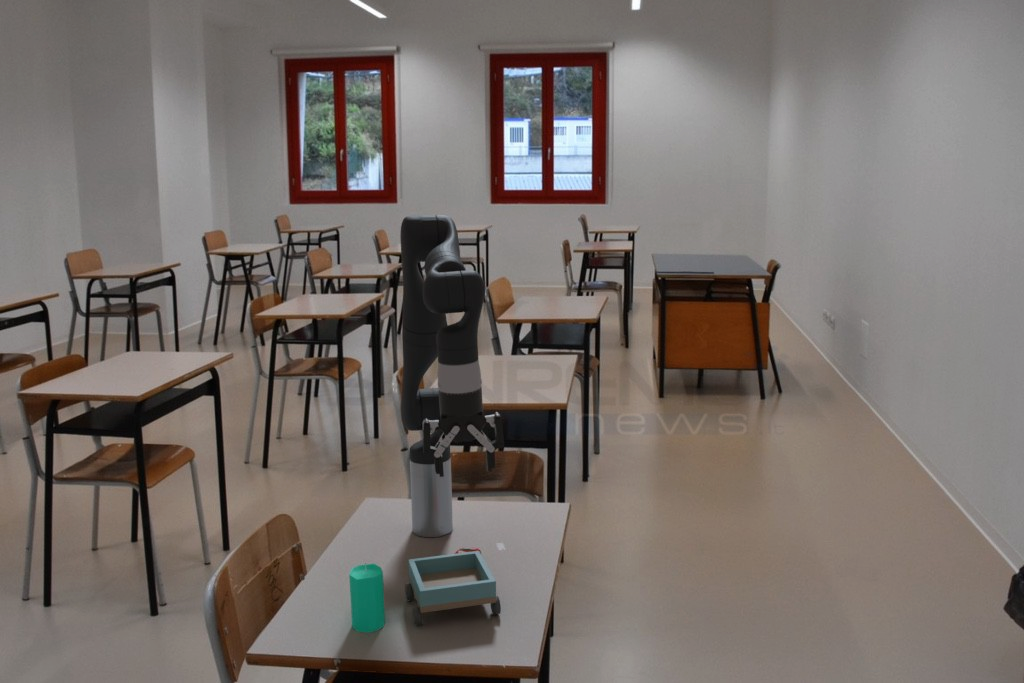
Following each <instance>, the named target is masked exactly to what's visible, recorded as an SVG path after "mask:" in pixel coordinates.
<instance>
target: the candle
mask: <svg viewBox="0 0 1024 683" xmlns="http://www.w3.org/2000/svg"><path fill="white" fill-rule="evenodd" d="M383 572H384V571H383V569H382V567H381V566H379V565H377V564H376V563H369V564H368V563H365V564H360V565H356V566H354V567H352V568H351V570H350V572H349V591H350V592H349V593H350V594H349V595H350V609H351V626H352V628H353V630H355V631H357V632H360V633H372V632H377V631H378V630H379V631H380V629H382V628H384V626H385V624H386V615H385V614H386V613H385V595H384V594H385V592H384V591H385V590H384V588H385V587H384V574H383Z"/></svg>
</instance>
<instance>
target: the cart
mask: <svg viewBox="0 0 1024 683" xmlns="http://www.w3.org/2000/svg"><path fill="white" fill-rule="evenodd" d="M407 560H408V580H409V583H405V584H404V585H405V586H404V588H405V599H406V601H407V602H410V601H414V600H416V602H417V605H418V606H416V607H413V608H412V610H413V611H412V613H413V614H412V615H413V622H414V626H421V625H423V622H424V621H423V620H424V619H423V613H424V614H425V613H431V612H436V611H443V610H444V611H445V610H452V609H460V608H467V607H473V606H474V607H475V606H481V605H488V604H490V609H491V613H492V615H500V614H501V611H502V610H501V609H502V608H501V601H500V597H499V595H497V580H496V578H495V577H494V576H493V573H492V571H491V570H490V568H489V566H488V564H487V563H486V561H485V559H484V558H483V555H482V553H481V554H480V552H479V551H473V552H465V553H457V554H455V553H451V554H443V555H436V556H435V555H433V556H425V557H418V558H417V557H416V558H411V559H410V558H409V559H407Z"/></svg>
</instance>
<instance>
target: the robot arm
mask: <svg viewBox="0 0 1024 683" xmlns="http://www.w3.org/2000/svg"><path fill="white" fill-rule="evenodd" d="M455 223H456V222H454V220H453V218H452V217H451V216H448V215H443V214H426V215H425V214H423V215H422V214H421V215H418V214H417V215H408V216H405V217H404V218H403V219H402V221H401V226H400V254H401V266H402V267H401V269H402V270H401V271H402V272H401V273H402V288H403V289H402V290H403V293H402V315H401V317H402V319H401V322H402V323H401V335H402V336H401V339H402V361H403V364H402V368H403V370H402V381H401V382H402V385H401V400H400V401H401V402H400V417H401V418H400V419H401V422H402V425H403V427H404V429H406V430H407V431H411V432H413V431H414V432H416V431H422V439H421V440H418V441H417V442H414V443H413V444H411V446H410V447H409V452H408V453H409V456H408V457H409V472H410V496H411V497H410V498H411V499H410V500H411V503H410V504H411V526H412V527H411V528H412V533H413V534H414V535H416V536H418V537H423V538H438V537H443V536H446V535H448V534H450V533H451V532H452V531H453V529H454V528H453V496H452V492H453V490H452V487H453V485H452V463H451V461H452V457H451V455H452V454H451V443H452V442H453V443H454V444H459V443H462V442H467V443H470V442H471V443H472V442H473V441H474V440H477V441H478V442H479V443H480V444H481V445H482V446H483V447H484V449H485V464H486V471H487V472H488V473H491V472H492V471H493V469H495V467H496V456H495V454H496V453H495V452H496V450H498V449H503V448H504V447H505V438H504V436H505V435H504V427H503V420H502V419H503V418H502V416H501V414H500V412H499V411H494V412H493V413H492V414H489V415H485V413H484V409H483V408H484V406H483V405H484V404H483V390H482V389H483V386H482V385H483V379H482V373H481V372H482V371H481V368H480V360H479V347H478V345H479V344H478V343H479V342H478V332H479V324H480V323H479V322H480V319H481V313H482V310H483V305H484V302H485V298H486V297H485V296H486V284H485V280H484V278H483V277H482V276H481V274H480V273H479V272H477V271H476V270H470V269H469V270H466V267H465V264H464V263H463V260H462V259H461V249H460V243H459V242H460V241H459V236H458V230H457V227H456V224H455ZM419 263H424V265H423V266H424V273H425V279H424V278H423V276H422V274H421V272H420V269H419V267H418V266H419V265H418V264H419ZM457 313H463V315H462V317H461V319H460V320H458V321H456V322H455V323H451V324H449V325H447V315H448V314H457ZM446 314H447V315H446ZM436 360H437V387H431V388H420V385H421V381H422V379H423V378H424V376H425V374H426V373H427V371H428V370H429V369H430V368H431V367H432V365H433V364H434V362H435V361H436ZM487 423H489V425H490V427H492V428H494V436H495V439H494V440H492V441H491V439H489V437H488V436H487V435H486V434H485V433H484V431H483V428H484V427H485V426H486V424H487Z"/></svg>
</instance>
